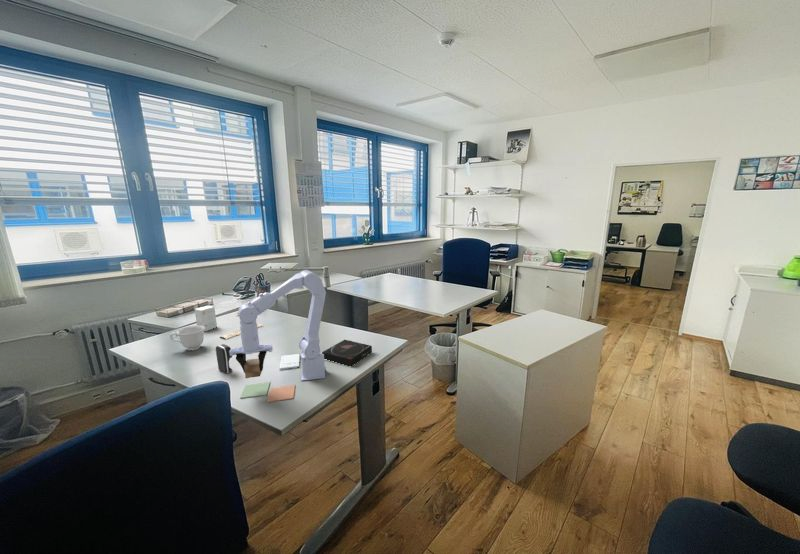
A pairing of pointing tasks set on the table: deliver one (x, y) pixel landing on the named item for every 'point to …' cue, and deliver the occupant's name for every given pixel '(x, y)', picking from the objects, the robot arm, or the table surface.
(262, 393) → the mat
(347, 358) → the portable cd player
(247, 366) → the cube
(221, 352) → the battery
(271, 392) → the mat
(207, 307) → the small box
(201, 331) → the teacup
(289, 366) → the external hard drive
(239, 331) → the wooden plank
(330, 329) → the table surface
